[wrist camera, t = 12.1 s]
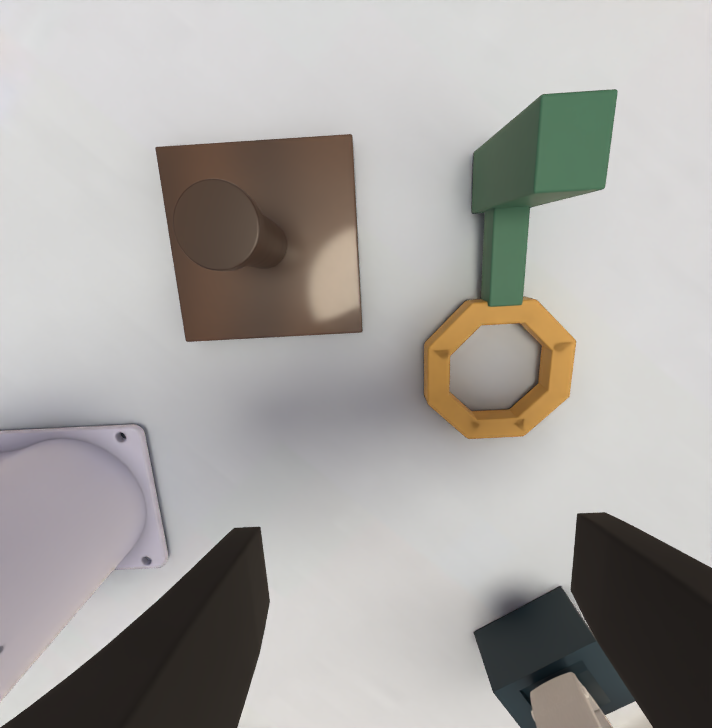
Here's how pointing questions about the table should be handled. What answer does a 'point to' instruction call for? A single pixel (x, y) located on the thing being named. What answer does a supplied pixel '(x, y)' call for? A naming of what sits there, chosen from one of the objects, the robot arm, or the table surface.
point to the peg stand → (264, 237)
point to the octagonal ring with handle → (522, 249)
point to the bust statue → (550, 667)
